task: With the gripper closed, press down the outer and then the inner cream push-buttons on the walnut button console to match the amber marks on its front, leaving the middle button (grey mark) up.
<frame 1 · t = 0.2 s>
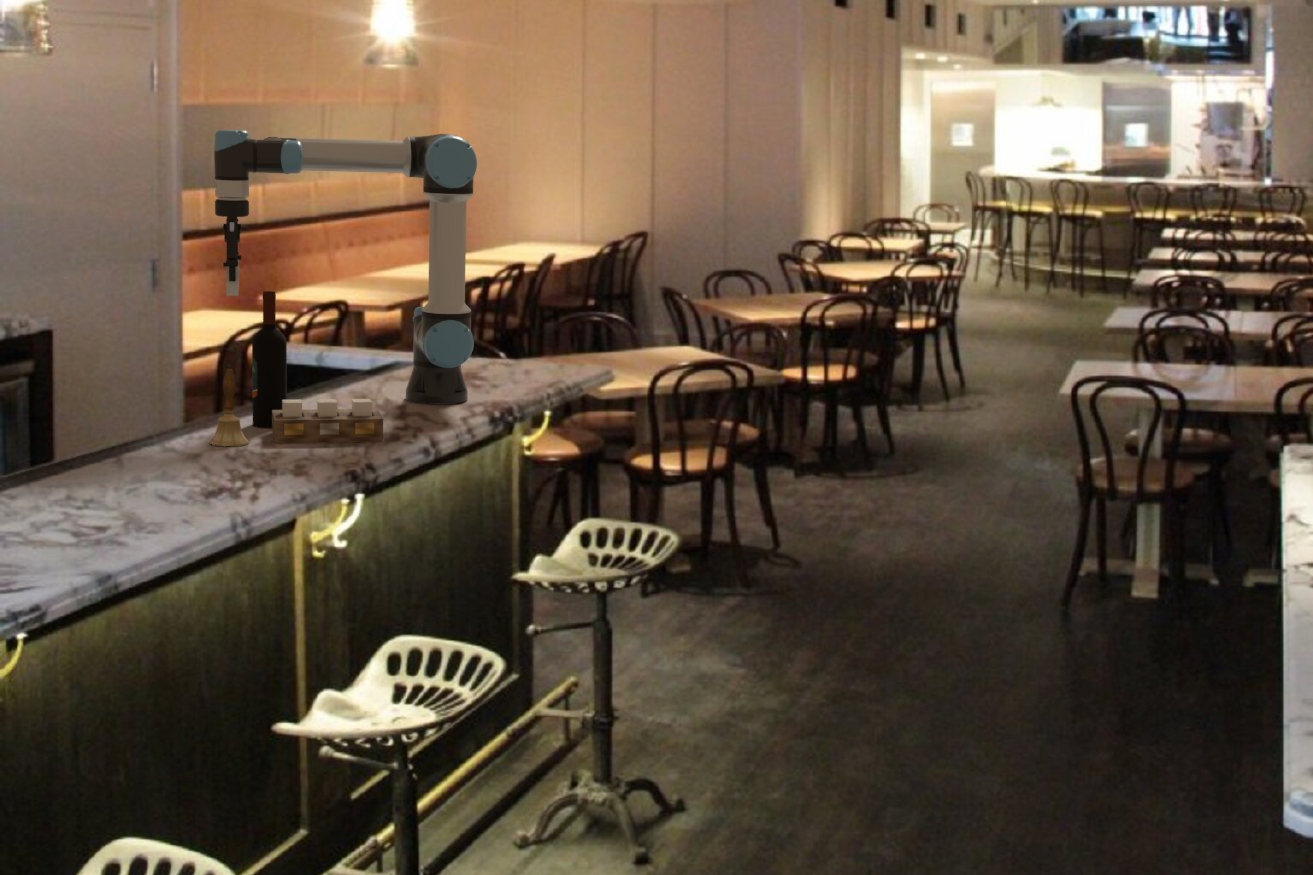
hand: (232, 292, 414), 28 cm above the countertop, fingers open, 13 cm apart
inner button: (362, 411, 395), point 6 cm above the countertop, slide at 0.0 cm
middle button: (327, 412, 393), point 6 cm above the countertop, slide at 0.0 cm
outer button: (292, 412, 391), point 6 cm above the countertop, slide at 0.0 cm
wine bottle: (269, 425, 405), on the countertop
console: (327, 436, 394), on the countertop
hand bell: (229, 444, 384), on the countertop
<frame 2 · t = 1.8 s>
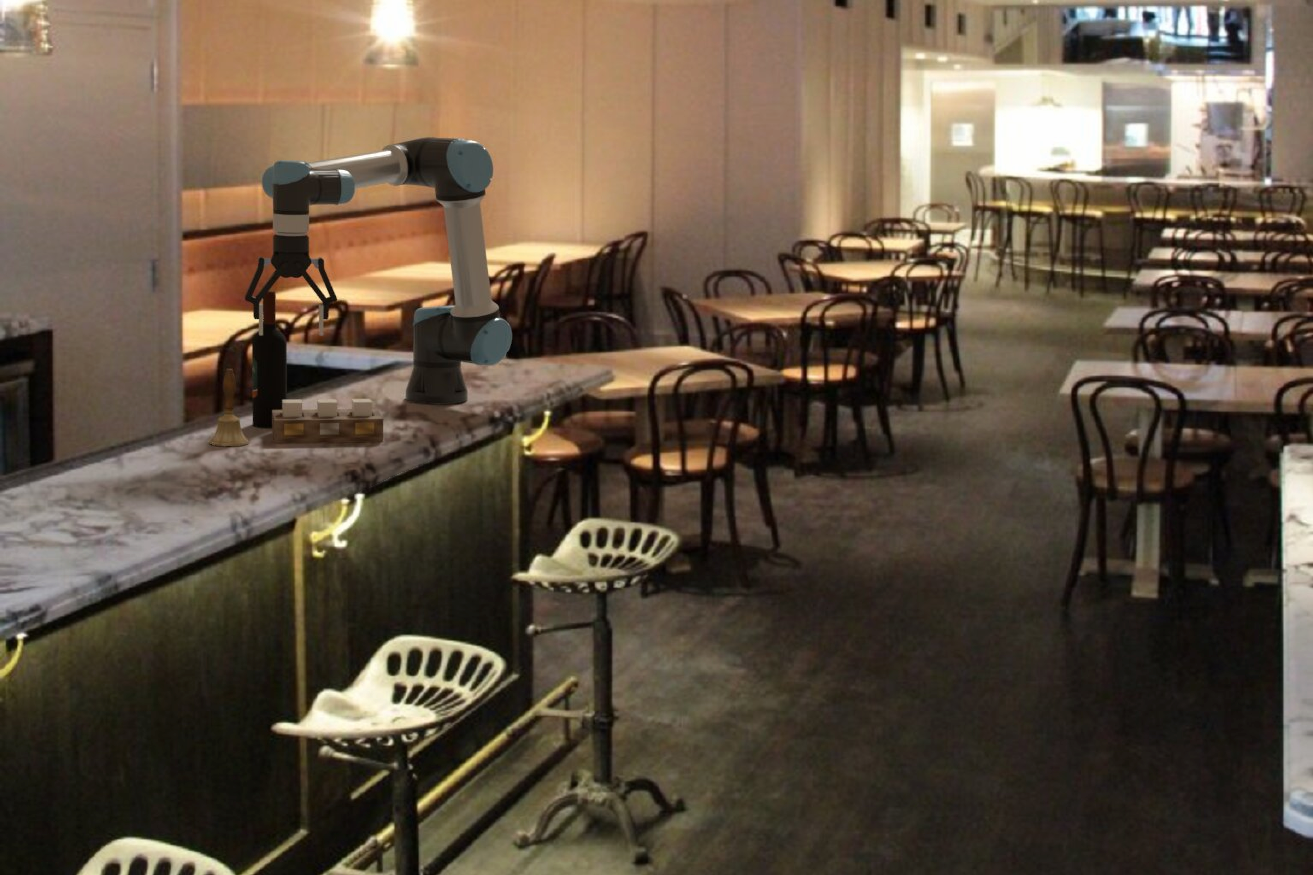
hand: (291, 334, 388), 22 cm above the countertop, fingers open, 12 cm apart
nothing on the countertop moved.
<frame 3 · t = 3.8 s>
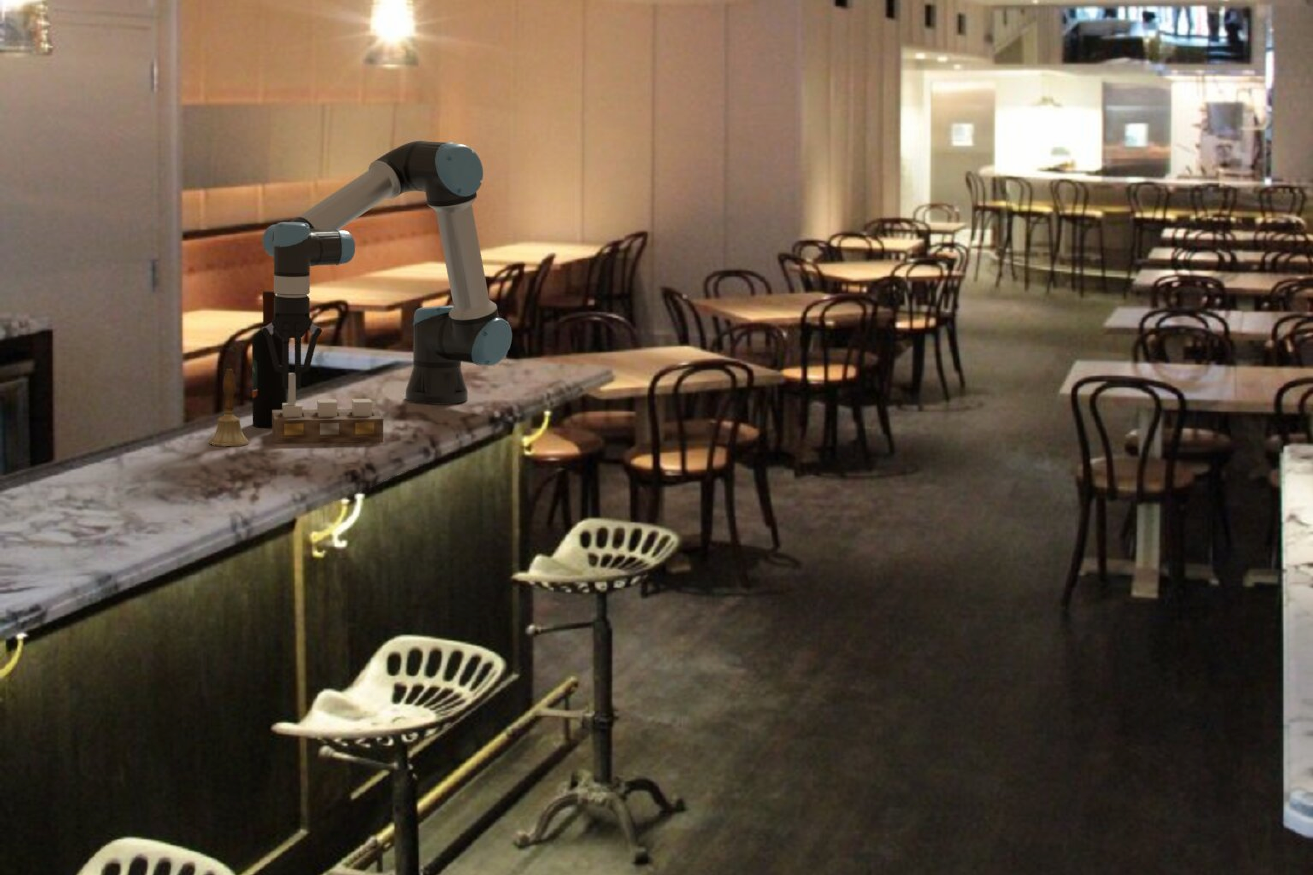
hand: (291, 403, 391), 7 cm above the countertop, fingers closed
outer button: (292, 416, 391), point 5 cm above the countertop, slide at 0.8 cm, touching gripper
everything else where it was.
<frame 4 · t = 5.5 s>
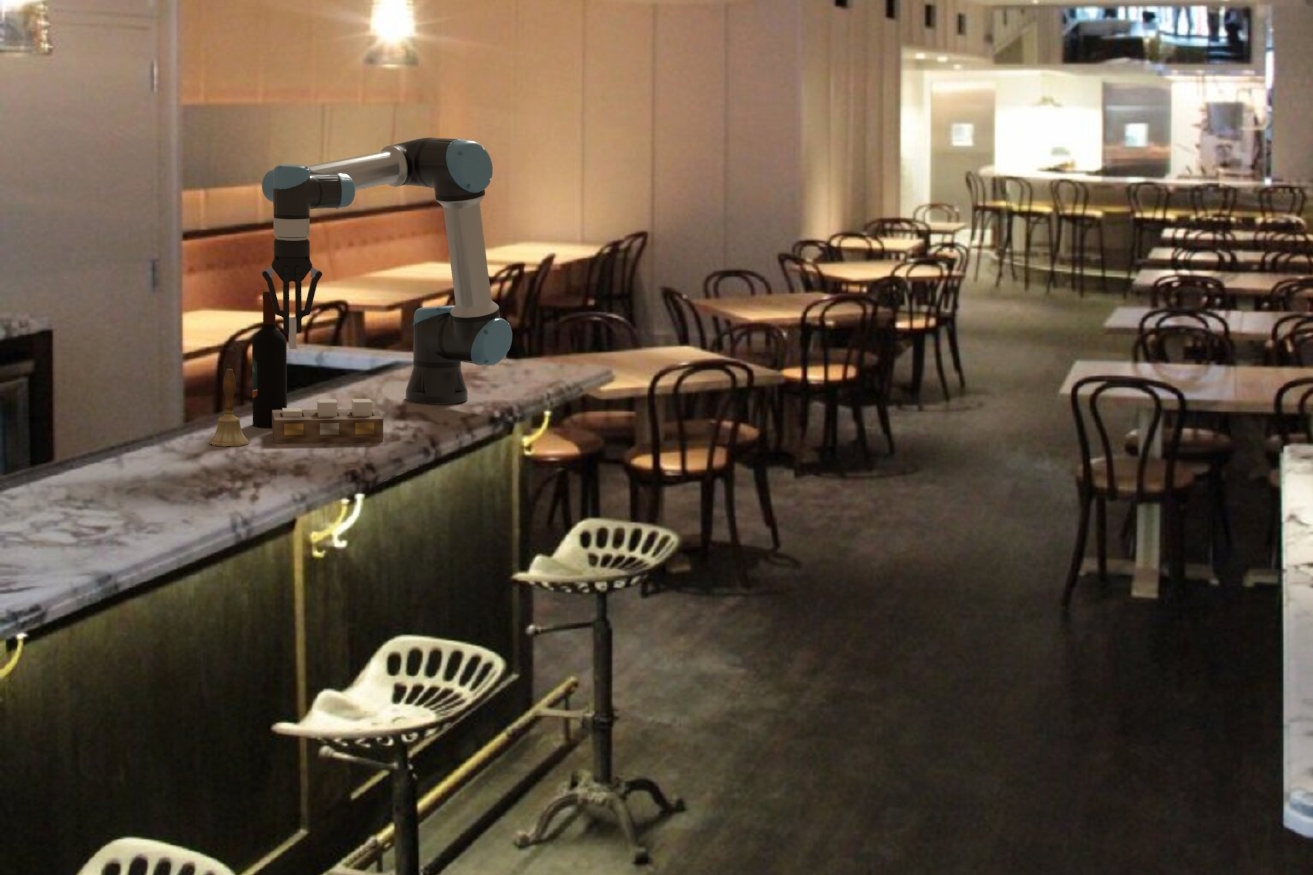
hand: (292, 347, 389), 20 cm above the countertop, fingers closed
outer button: (292, 421, 392), point 4 cm above the countertop, slide at 1.9 cm
everything else where it was.
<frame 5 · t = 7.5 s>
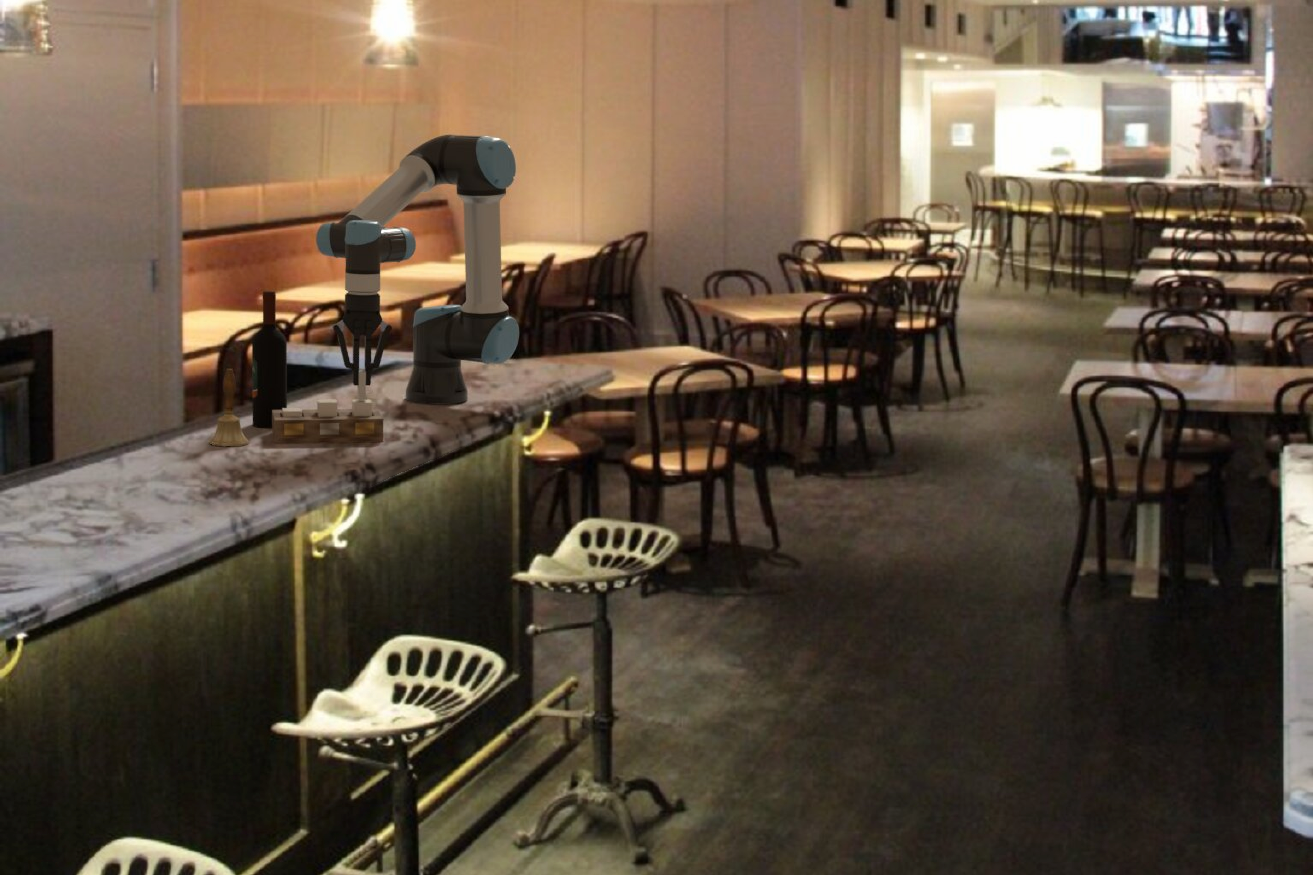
hand: (361, 400, 394), 8 cm above the countertop, fingers closed
inner button: (362, 412, 395), point 5 cm above the countertop, slide at 0.1 cm, touching gripper
everything else where it was.
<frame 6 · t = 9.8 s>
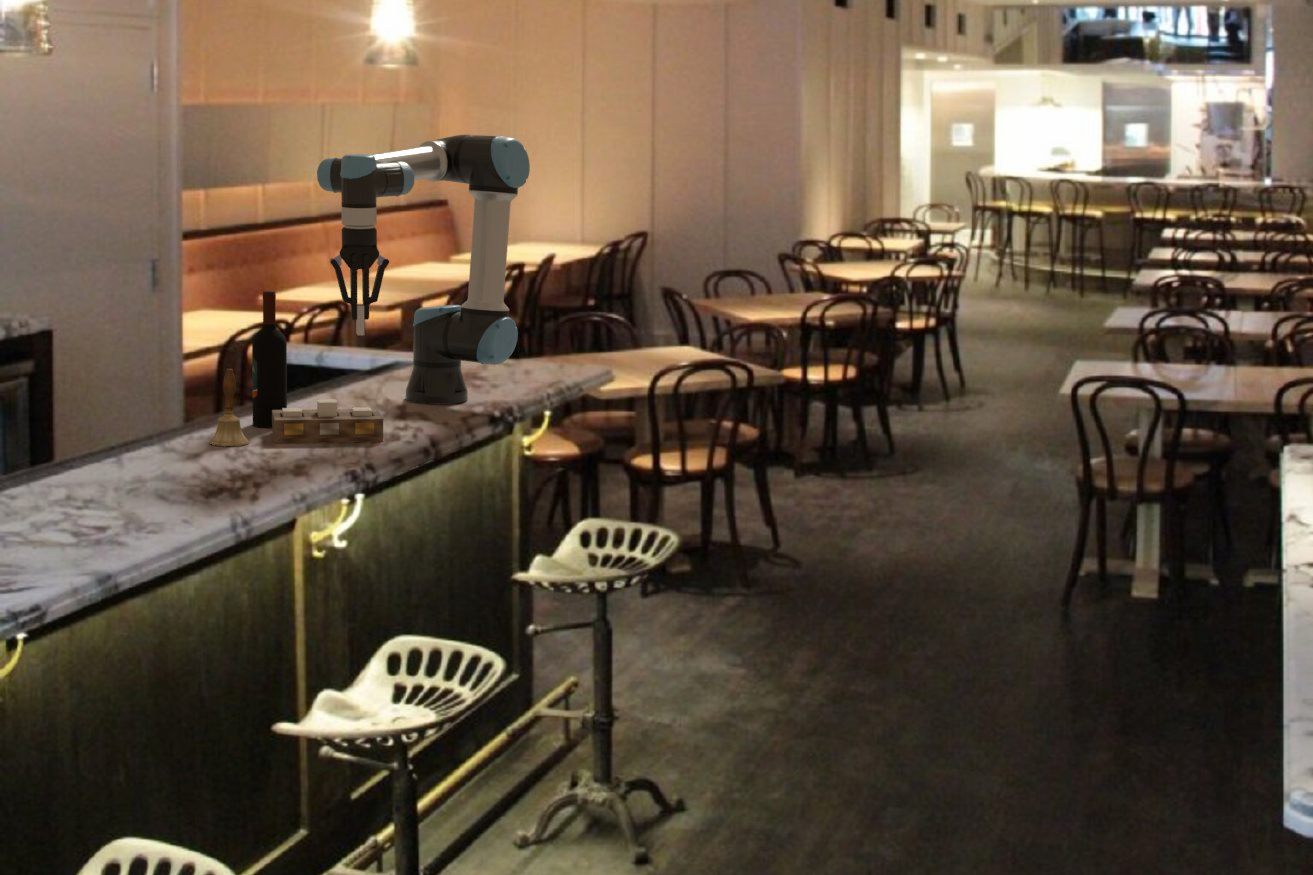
hand: (360, 334, 396), 22 cm above the countertop, fingers closed
inner button: (361, 420, 395), point 4 cm above the countertop, slide at 1.9 cm
everything else where it was.
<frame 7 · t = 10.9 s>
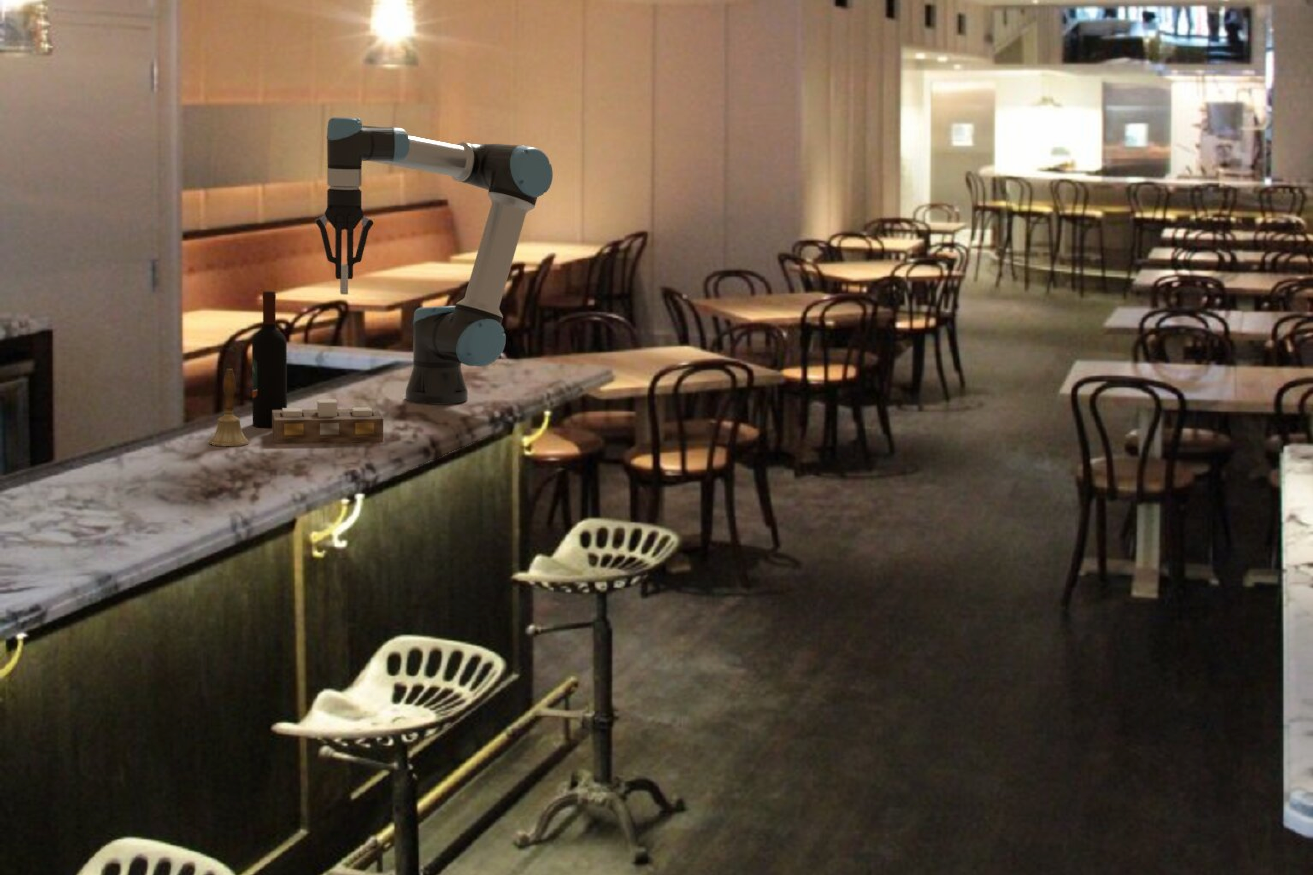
hand: (344, 293, 406), 29 cm above the countertop, fingers closed
nothing on the countertop moved.
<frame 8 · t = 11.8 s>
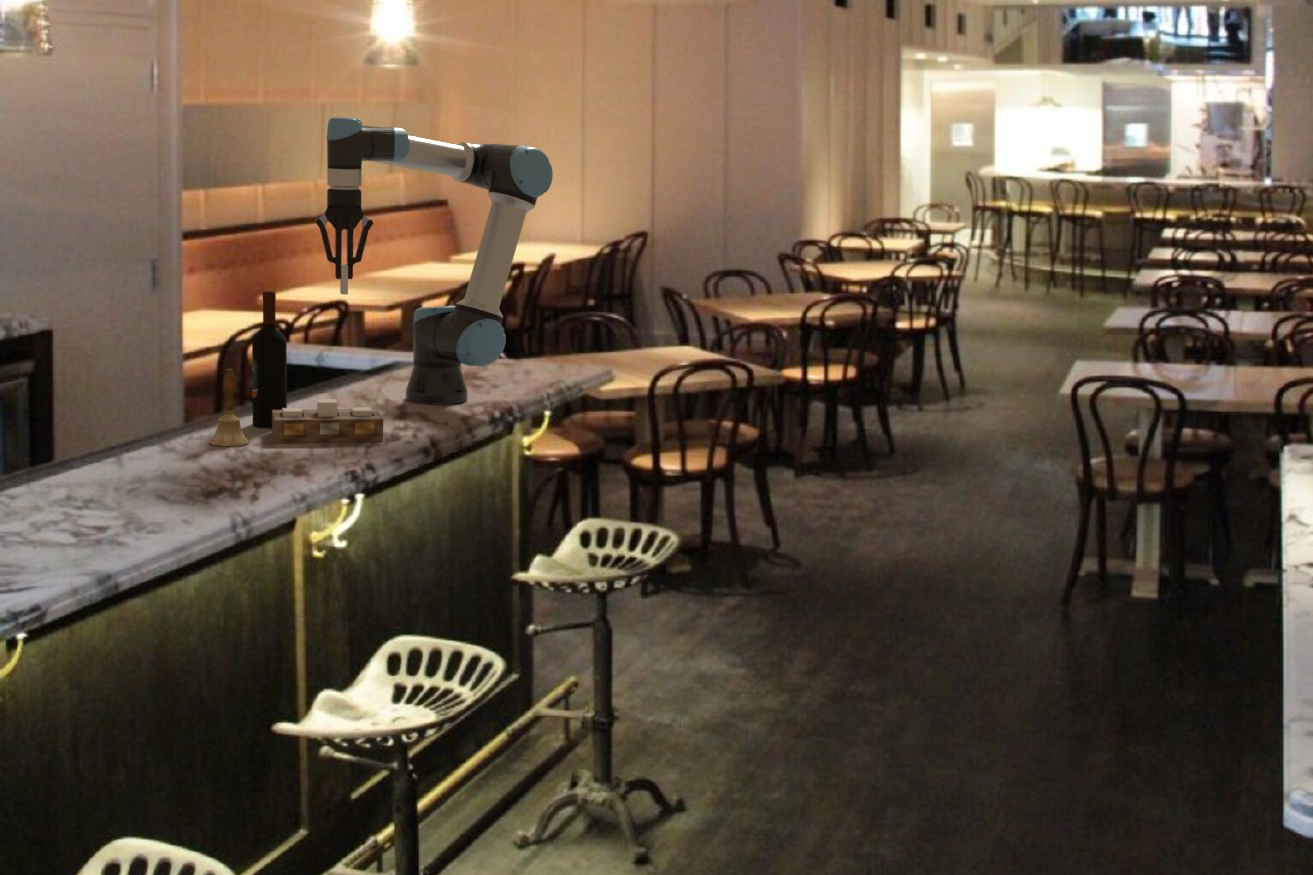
hand: (344, 293, 406), 29 cm above the countertop, fingers closed
nothing on the countertop moved.
at the end: outer button slide at 1.9 cm; inner button slide at 1.9 cm; middle button slide at 0.0 cm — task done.
